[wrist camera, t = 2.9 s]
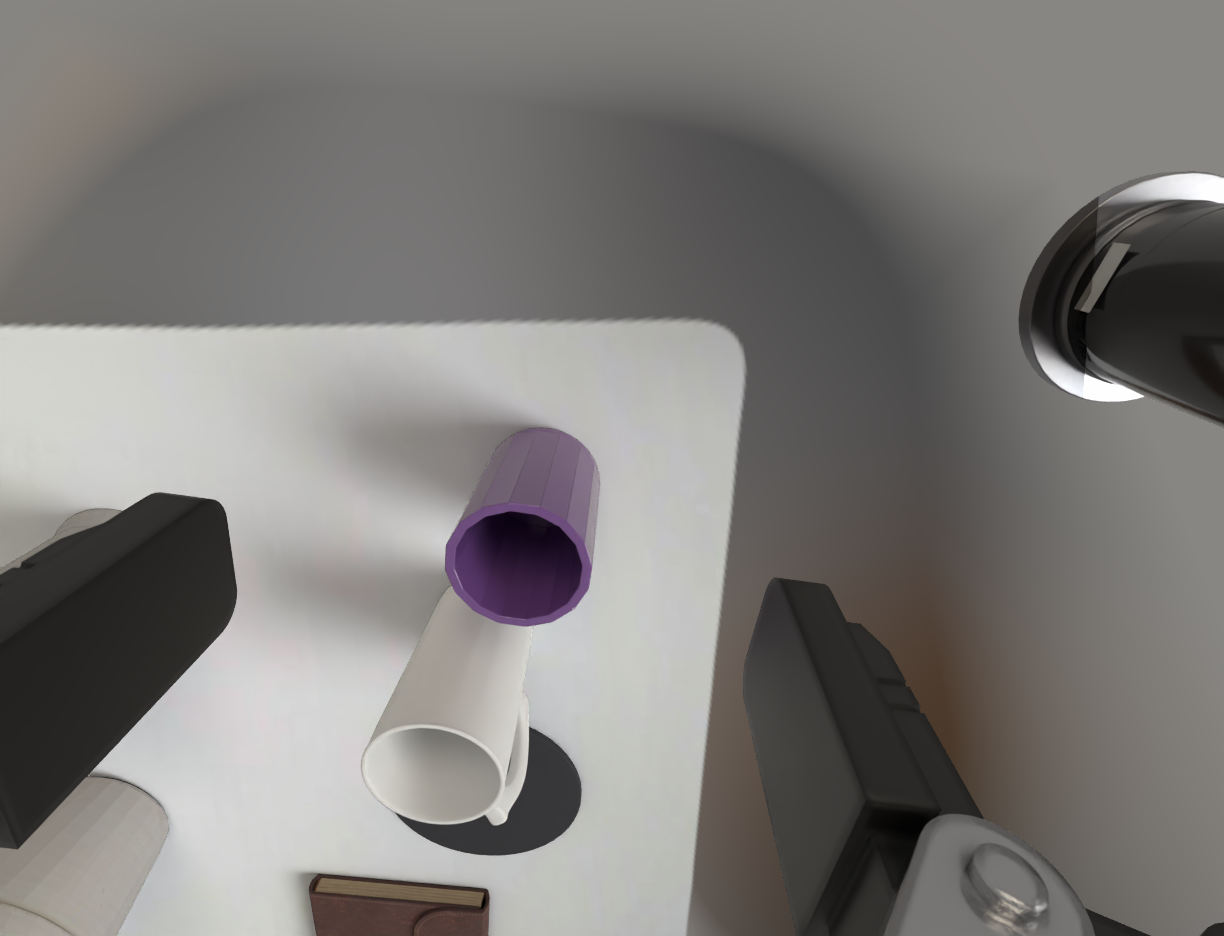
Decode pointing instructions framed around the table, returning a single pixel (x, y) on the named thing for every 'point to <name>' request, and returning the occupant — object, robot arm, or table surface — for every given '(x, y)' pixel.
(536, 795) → the mat
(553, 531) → the cup
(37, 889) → the potted plant
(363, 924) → the notebook
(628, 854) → the table surface
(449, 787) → the mug
